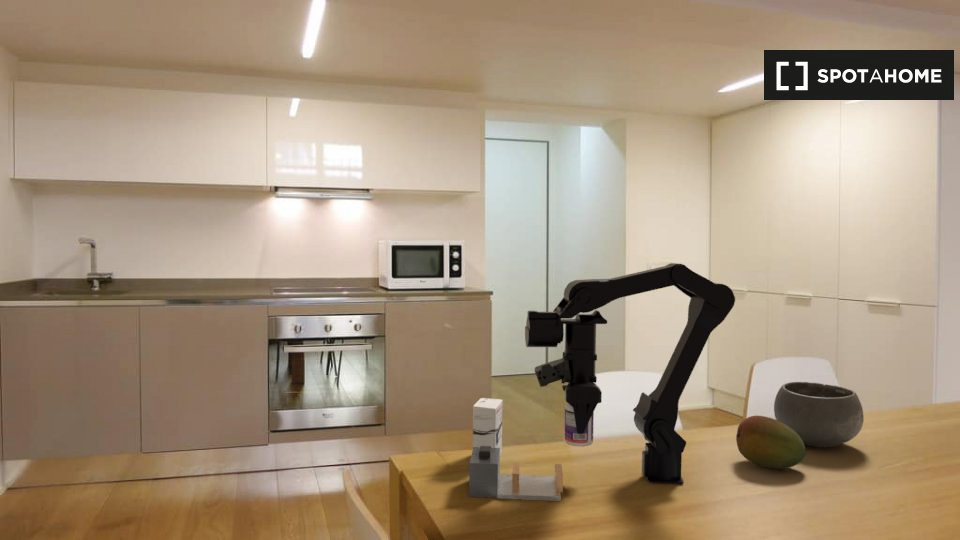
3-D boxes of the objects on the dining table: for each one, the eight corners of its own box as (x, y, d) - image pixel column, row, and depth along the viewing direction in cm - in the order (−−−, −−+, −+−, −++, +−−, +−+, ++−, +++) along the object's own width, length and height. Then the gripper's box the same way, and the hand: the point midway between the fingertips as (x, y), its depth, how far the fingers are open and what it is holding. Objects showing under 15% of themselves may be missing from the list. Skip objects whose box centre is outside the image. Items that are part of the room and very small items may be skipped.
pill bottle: (576, 436, 128) (577, 387, 128) (598, 443, 124) (599, 392, 124) (558, 442, 125) (559, 391, 124) (580, 449, 121) (581, 396, 120)
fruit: (731, 454, 140) (732, 408, 139) (795, 459, 137) (796, 411, 137) (741, 473, 128) (743, 423, 128) (811, 478, 126) (812, 427, 125)
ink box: (495, 466, 131) (496, 408, 131) (471, 464, 132) (471, 406, 132) (502, 453, 140) (503, 398, 139) (479, 451, 141) (480, 397, 140)
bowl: (864, 440, 150) (866, 385, 150) (860, 462, 135) (862, 401, 135) (779, 428, 160) (781, 376, 159) (767, 447, 145) (768, 390, 144)
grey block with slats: (560, 480, 124) (560, 442, 124) (563, 501, 114) (563, 460, 114) (473, 477, 125) (473, 440, 125) (468, 497, 115) (469, 457, 115)
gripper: (536, 339, 133) (535, 415, 134) (538, 354, 115) (536, 443, 116) (592, 340, 133) (590, 416, 133) (602, 356, 114) (601, 445, 115)
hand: (579, 429), depth 124 cm, fingers closed on pill bottle, 5 cm apart
